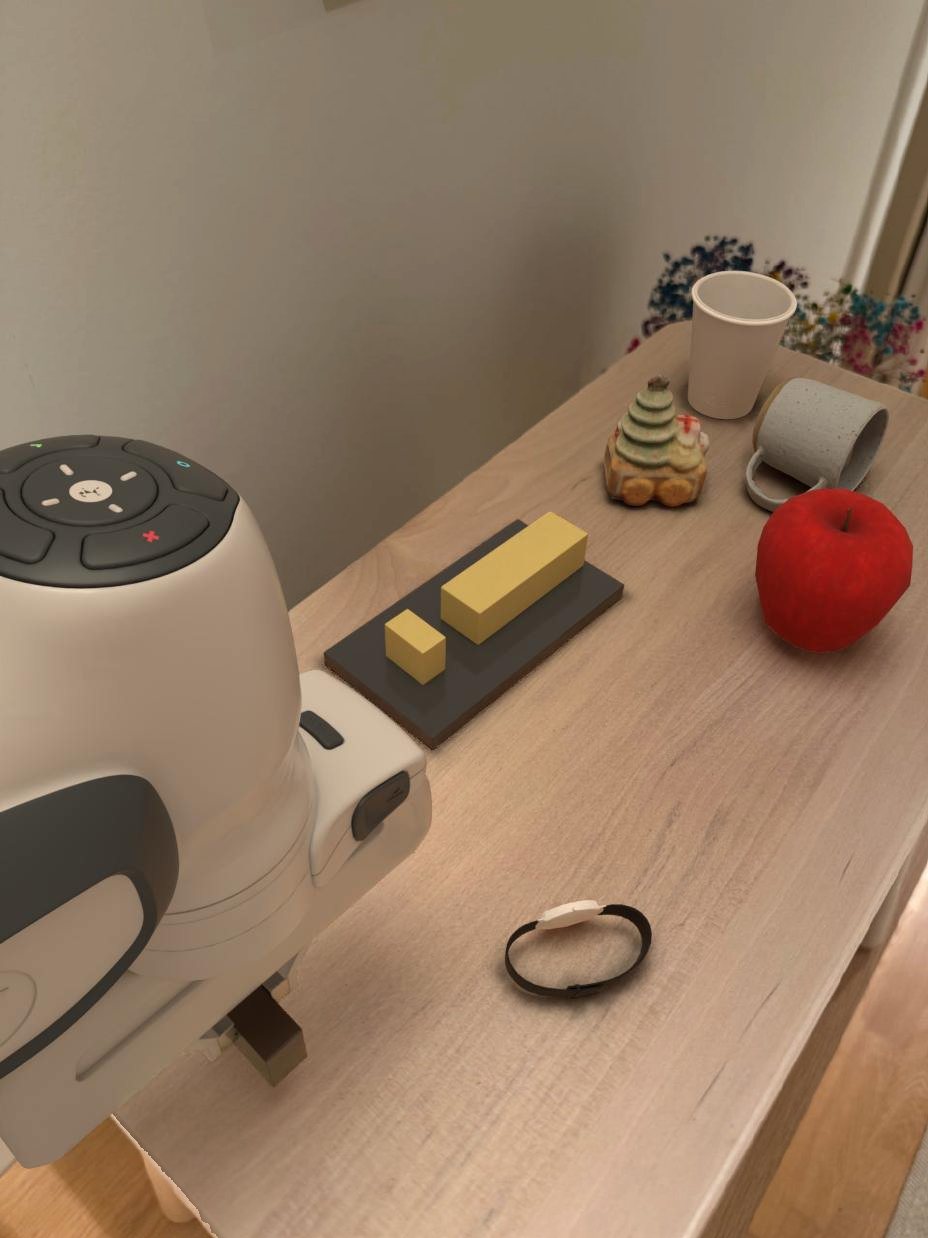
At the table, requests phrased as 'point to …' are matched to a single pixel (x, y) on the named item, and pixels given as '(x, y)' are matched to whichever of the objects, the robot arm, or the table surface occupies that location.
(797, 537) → the apple
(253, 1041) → the dark brown boxy part
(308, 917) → the robot arm
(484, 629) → the butter block
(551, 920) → the watch
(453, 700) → the butter dish
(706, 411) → the dixie cup
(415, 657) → the butter pat
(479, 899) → the table surface
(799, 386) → the ceramic mug
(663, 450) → the ornament
